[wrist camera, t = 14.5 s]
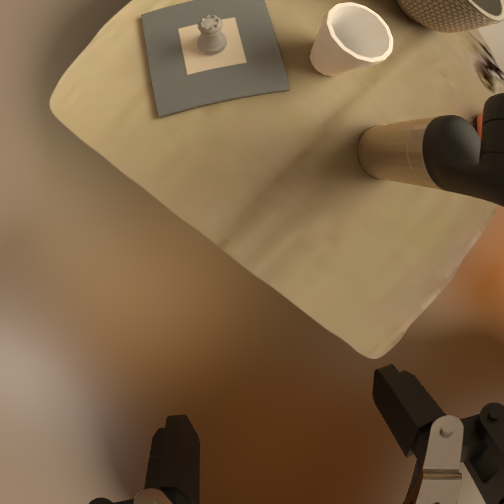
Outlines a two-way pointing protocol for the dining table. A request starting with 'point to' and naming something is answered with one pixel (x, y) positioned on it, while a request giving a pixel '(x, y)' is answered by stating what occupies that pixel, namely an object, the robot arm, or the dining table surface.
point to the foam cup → (350, 40)
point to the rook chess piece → (211, 35)
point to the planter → (453, 13)
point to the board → (211, 66)
